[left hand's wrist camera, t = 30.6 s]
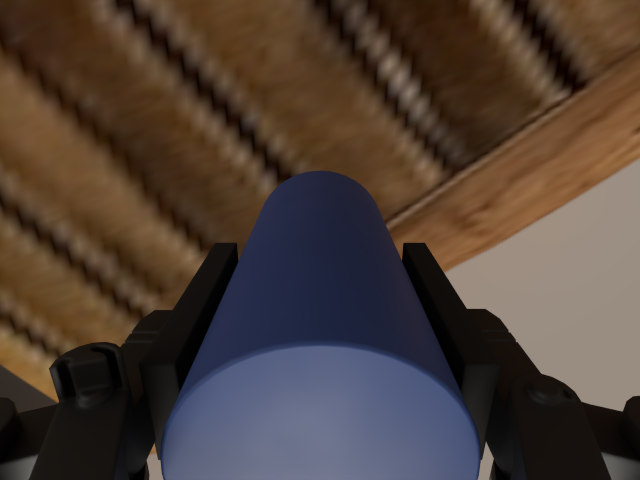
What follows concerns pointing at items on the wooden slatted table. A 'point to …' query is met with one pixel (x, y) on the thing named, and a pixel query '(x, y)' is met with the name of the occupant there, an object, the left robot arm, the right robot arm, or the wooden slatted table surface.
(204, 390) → the cylinder
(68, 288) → the wooden slatted table surface
